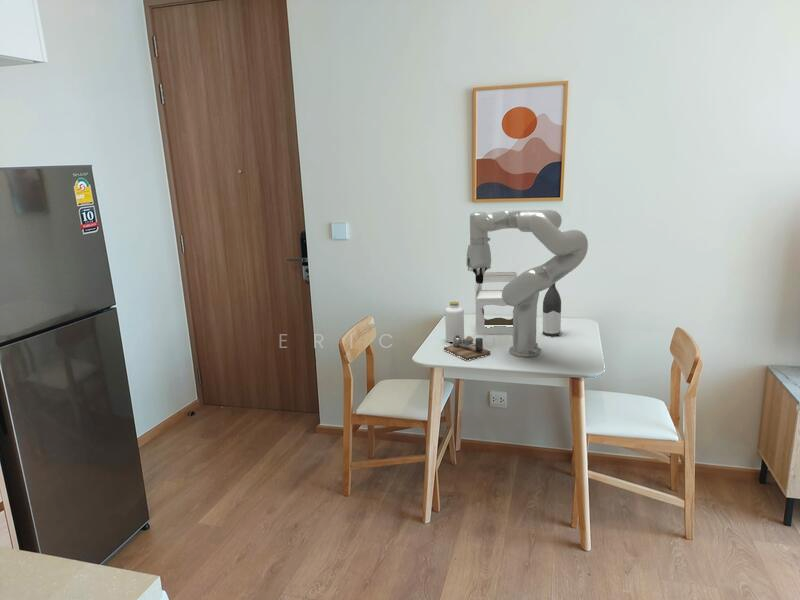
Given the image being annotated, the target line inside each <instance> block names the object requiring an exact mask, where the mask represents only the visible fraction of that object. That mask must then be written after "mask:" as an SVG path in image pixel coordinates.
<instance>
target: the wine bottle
mask: <svg viewBox="0 0 800 600" xmlns="http://www.w3.org/2000/svg"><path fill="white" fill-rule="evenodd" d="M561 324H562V299H561V295H560V293H559V291H558V289H557V288H556V282H555V283H554V284H553V285H552V286H550V287H549V288H547V291H546V292H545V294H544V297H543V300H542V335H544V336H545V337H549V336H551V338H552V337H553V338H554V337H560V335H561V329H562V327H561V326H562V325H561Z"/></svg>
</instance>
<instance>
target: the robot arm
mask: <svg viewBox="0 0 800 600" xmlns="http://www.w3.org/2000/svg"><path fill="white" fill-rule="evenodd" d="M561 224H562V216H561V214H560V213H559V212H557V210H551V209H541V210H540V209H538V210H534V209H533V210H531V209H529V210H500V211H494V212H490V213H486V212H484V211H476V212H475V211H474V212H471V213H470V215H469V243H470V244H467V245H468V246H467V251H466V263H465V264H466V266H467V271H468V272H472V273H473V274H474V275H475V276H474V277H475V284H476V283H478V284H482V285H483V284H484V282H483V274H484V273H486V271H487V270H489V269H491V265H492V254H491V248H490V247H491V246H490V243H489V241H491V237H489V236H488V235H489V234H488V233H489V232H491V233H492V232H495V231H499V230H506V229H518V230H519V231H520V232H522V233H532V235H534V237H535V238H536V239H537V240H538V241H539V242H540V243H541V244H542V245H543V246H544V247H545V248H546V249H547V250H548V251H549V252H550V253H551V254H553V255H554V256H552V257H551V258H550V259H549V260H547V261H546V262H545V263H543V264H541V265H538V266H535V267H532V268H530V269H527V270H525V271H524V272H522V273H521V274H519V275H517V277H516V278H515V279H514V280H512V281H511V282H507V284H505V286H504V287H503V289H502V290H503V291H502V299H503V301H504V302H505V303H506V304H507V306H509V307H513V310H512V318H513V334H512V346H511V347H509V348H508V352H509V353H510V354H511V355H513V356H516V357H520V358H523V357H525V358H529V357H535V356H537V355H540V353H541V352H542V351H543V349H542V348H541V347H539V344H538V343H537V315H538V310H537V309H538V301H539V297H540V292H542V291H544V290H548V289H549V287H550V286H552V285H553V284H554V283H555V284H556V283H557V282H558V281H560V280H562V278H564V277H565V276H567V275H568V274H569V273H571V272H572V271H574V270H575V269H576V268H578V267H579V265H581V264H582V262H583V260H584V259H585V257H587V253H588V249H589V248H588V247H589V242H588V238H587V236H586V234H585V233H584V232H583V231H580V230H578V229H570V230H569V229H568V230H565V231H561V229H559V228H560V227H561Z"/></svg>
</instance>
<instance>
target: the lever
mask: <svg viewBox="0 0 800 600" xmlns="http://www.w3.org/2000/svg"><path fill="white" fill-rule="evenodd" d="M452 344H453V345H455V346H462V347H466V348H469V349H473V350H476V351H478V352H481V351H483V348H484V339H483V338H482V337H476V338H475V344H476V347H475V346H471V345H469V340H468V339H466V338H464V339H463V341H462V337H458V338H456V337H453V343H452Z"/></svg>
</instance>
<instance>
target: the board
mask: <svg viewBox="0 0 800 600" xmlns="http://www.w3.org/2000/svg"><path fill="white" fill-rule="evenodd" d="M458 337H459V335H456V338H458ZM465 339H468V340H469V345H471V346H475V347H476V342H475V343H474V338H473V337H472V336H470V335H469V336H466V337H465ZM444 350H446V351H449V352H451V353H453V354H455V355H457V356H460V357H462V358H464V359H466V360H469V359H473V358H476V359H478V358H477V357H480V358H482V357H481V356H484V357H486V356H485V355H487V356H490V355H491V350H489V349H486V348H484V347H483V351H481V352H478V351H476V350H473V349H469V348H466V347H462V346H455V345H449V346H444V347H443V351H444ZM446 351H445V352H446ZM489 354H490V355H489ZM457 356H456V357H457ZM473 360H474V359H473ZM469 361H470V360H469Z"/></svg>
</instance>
